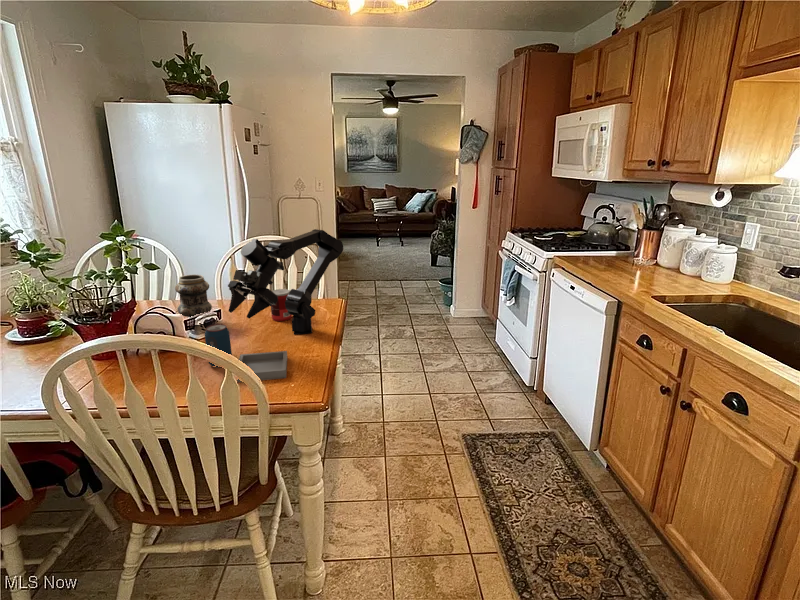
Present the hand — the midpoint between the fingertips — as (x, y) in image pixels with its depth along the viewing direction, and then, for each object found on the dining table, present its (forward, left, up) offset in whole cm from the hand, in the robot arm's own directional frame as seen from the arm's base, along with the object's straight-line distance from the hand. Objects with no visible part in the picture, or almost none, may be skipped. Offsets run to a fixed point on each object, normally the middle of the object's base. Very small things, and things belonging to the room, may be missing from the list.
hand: (238, 314), depth 142 cm
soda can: (+6, +6, -14) cm, 16 cm away
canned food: (-11, -33, -14) cm, 38 cm away
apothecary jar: (+21, -35, -14) cm, 43 cm away
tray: (-7, +13, -14) cm, 20 cm away
